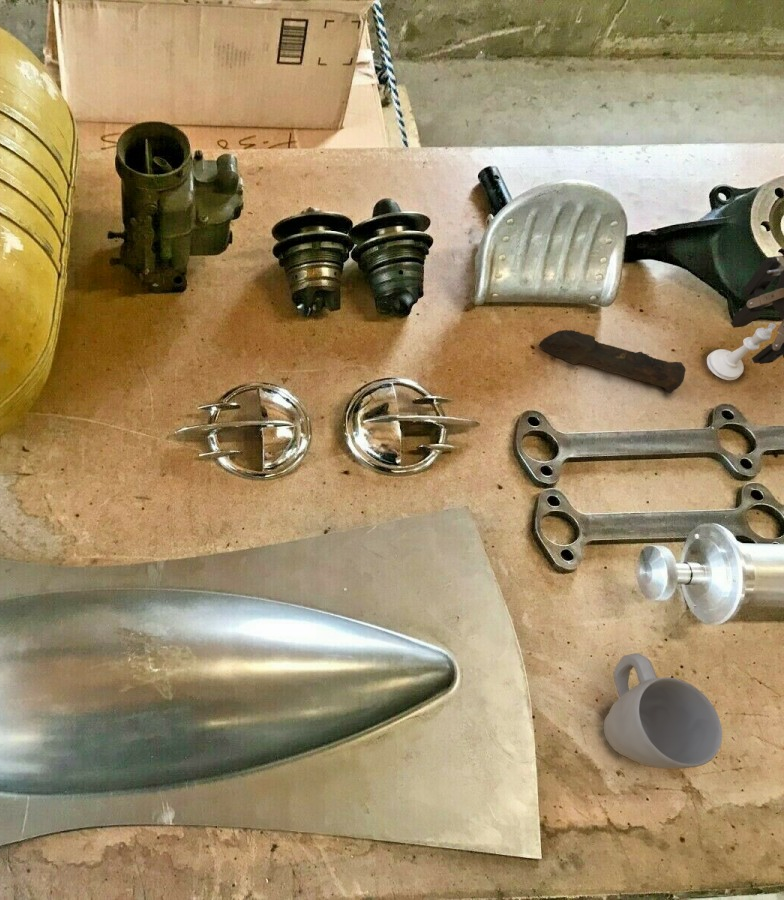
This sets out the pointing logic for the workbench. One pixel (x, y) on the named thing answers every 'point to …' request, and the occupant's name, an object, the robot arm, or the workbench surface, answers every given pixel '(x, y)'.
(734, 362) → the chess piece
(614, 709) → the mug
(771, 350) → the robot arm
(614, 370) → the hand tool
